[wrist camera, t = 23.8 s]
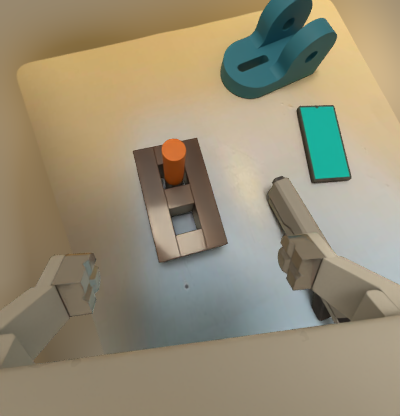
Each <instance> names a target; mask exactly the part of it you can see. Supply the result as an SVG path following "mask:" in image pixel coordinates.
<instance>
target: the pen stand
mask: <svg viewBox="0 0 400 416" xmlns="http://www.w3.org/2000/svg"><path fill="white" fill-rule="evenodd" d="M182 142H183V143H184V145H185V147H186V157H185V166H184V176H183V180H184V184H185V185H181V186H177V187H173V188H168V189H164V188H163V184H162V180H161V178H165V177H164V168H163V159H162V146H163V145H159V146H154V147H150V148H145V149H140V150H135V151H133V154H134V158H135V163H136V167H137V171H138V175H139V180H140V184H141V188H142V192H143V196H144V201H145V205H146V209H147V213H148V218H149V222H150V226H151V230H152V234H153V239H154V243H155V247H156V251H157V256H158V260H159V263H163V262H166V261H170V260H174V259H177V258H181V257H184V256H188V255H192V254H195V253H199V252H203V251H206V250H210V249H213V248H217V247H220V246H223V245H226V244H228V242H227V239H226V235H225V232H224V228H223V225H222V222H221V218H220V215H219V211H218V208H217V205H216V201H215V198H214V194H213V191H212V187H211V184H210V181H209V177H208V174H207V170H206V167H205V164H204V160H203V157H202V153H201V150H200V147H199V143H198V140H197V138H194V139H189V140H184V141H182ZM191 211H192V214H193V217H194V221H195V225H196V228H197V230H194V231H190V232H187V233H183V234H179V235H176V236H175V232H174V228H173V224H172V220H171V216H175V215H179V214H183V213H187V212H191Z"/></svg>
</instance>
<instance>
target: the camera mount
mask: <svg viewBox="0 0 400 416" xmlns="http://www.w3.org/2000/svg"><path fill="white" fill-rule="evenodd" d="M311 9H312V0H271V1H270V2H269V3H268V5H267V6H266V7H265V9H264V10H263V12H262V14H261V16H260V19H259V21H258V24H257V27H256V29H255V31H254V32H253V33H252V34H251V35H250V36H249V37H246V38H244V39H241V40H238V41H236V42H234V43H232V44H231V45H230V46H229V47H228V48H227V50H226V52H225V54H224V58H223V62H222V66H221V79H222V82H223V84H224V85H225V87H226V88H227V89H228V90H229V91H230V92H232V93H233V94H235V95H237V96H239V97H242V98H248V99H252V98H258V97H261V96H263V95H265V94H268V93H270V92H272V91H275V90H277V89H279V88H281V87H284V86H286V85H288V84H290V83H293V82H295V81H297V80H300V79H302V78H304V77H306V76H309V75H311V74H313V73H314V71H315V70H316V69H317V67H318V66H319V64H320V63H321V62H322V60H323V59H324V58H325V56H326V55H327V53H328V52H329V51H330V49H331V48H332V47H333V45H334V43H335V41H336V39H337V34H336V33H335V31H334V30H333V29H332V27H331V26H330V24H329V23H328V22H327V20H326V19H324V18H319V19H316V20H314V21H312V22H310V23H308V24H307V25H305V26H304V24H305V22H306V20H307V18H308V16H309V14H310V12H311ZM303 26H304V27H303Z"/></svg>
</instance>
